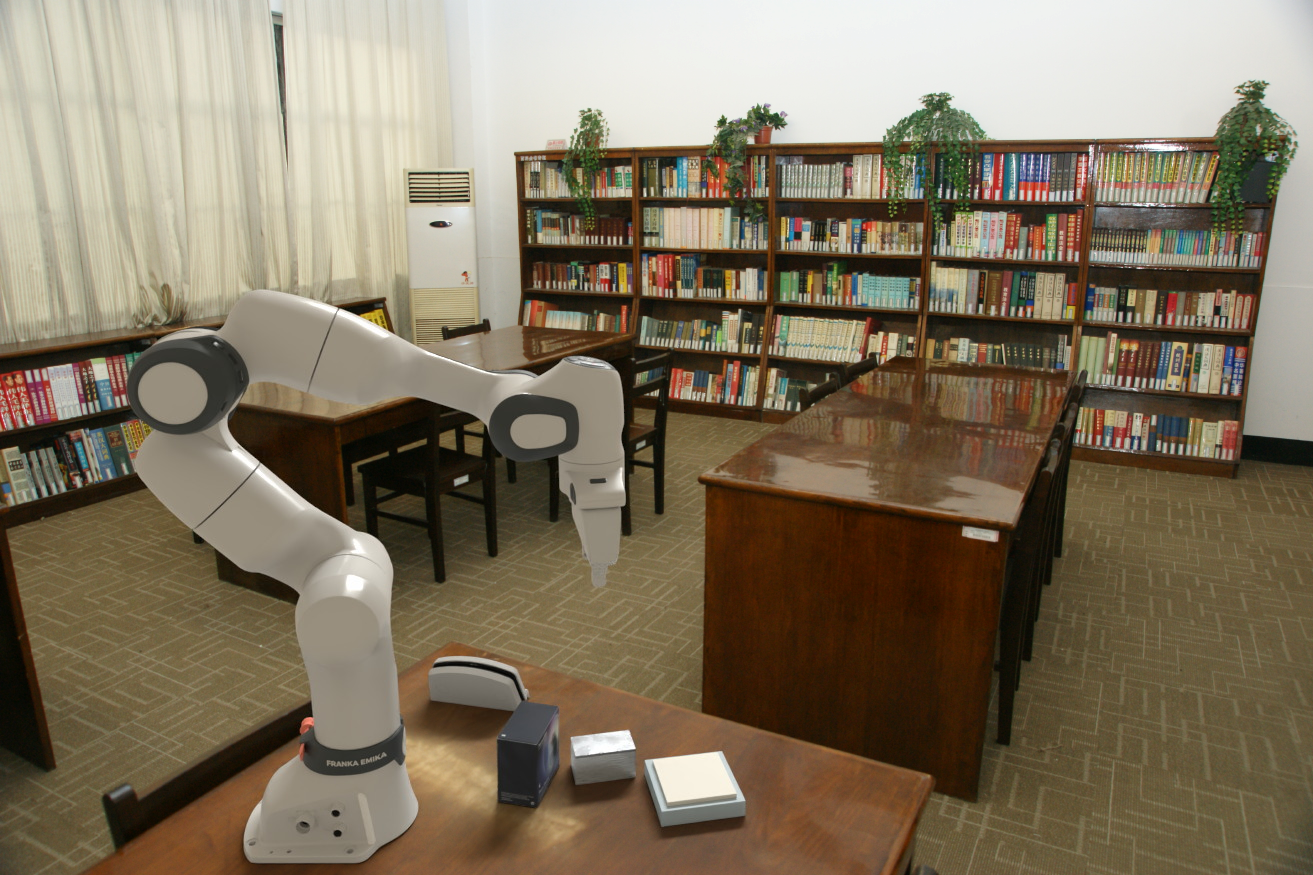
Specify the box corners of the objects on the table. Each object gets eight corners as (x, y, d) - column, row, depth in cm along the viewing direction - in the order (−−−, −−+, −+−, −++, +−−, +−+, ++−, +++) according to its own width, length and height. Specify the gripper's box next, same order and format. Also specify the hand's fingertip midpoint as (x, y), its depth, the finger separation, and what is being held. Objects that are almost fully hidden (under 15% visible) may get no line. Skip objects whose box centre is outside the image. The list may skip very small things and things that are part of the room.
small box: (539, 809, 128) (538, 744, 125) (496, 803, 129) (493, 738, 126) (562, 765, 138) (561, 704, 135) (521, 759, 139) (519, 698, 136)
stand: (661, 826, 124) (661, 807, 124) (644, 773, 136) (644, 756, 135) (745, 815, 127) (745, 796, 126) (721, 764, 138) (722, 747, 137)
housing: (575, 785, 133) (575, 756, 132) (571, 765, 138) (570, 736, 136) (635, 777, 135) (635, 748, 134) (628, 758, 140) (629, 729, 138)
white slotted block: (531, 696, 156) (523, 656, 151) (523, 718, 153) (514, 678, 147) (441, 684, 160) (430, 645, 154) (431, 706, 156) (419, 666, 150)
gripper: (560, 456, 131) (563, 545, 135) (578, 501, 112) (580, 603, 115) (603, 454, 132) (604, 542, 136) (628, 498, 113) (629, 599, 117)
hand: (593, 571), depth 126 cm, fingers open, 8 cm apart
